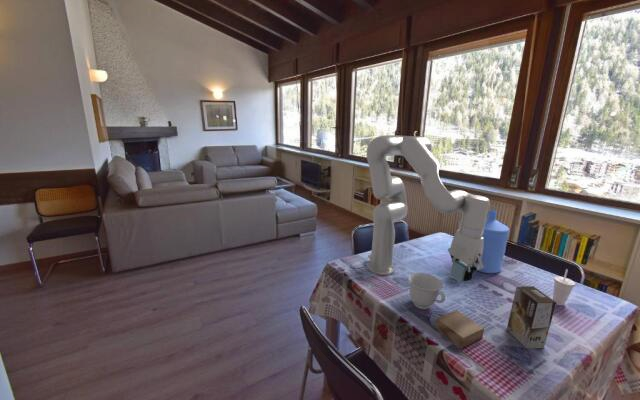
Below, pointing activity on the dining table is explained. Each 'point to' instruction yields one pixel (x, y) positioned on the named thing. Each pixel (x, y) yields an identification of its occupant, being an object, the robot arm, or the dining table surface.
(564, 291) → the smoothie
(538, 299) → the coffee box
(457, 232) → the robot arm
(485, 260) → the water jug
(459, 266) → the slate block
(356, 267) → the dining table surface
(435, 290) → the teacup
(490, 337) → the dining table surface
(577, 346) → the dining table surface
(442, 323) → the tan flat block
